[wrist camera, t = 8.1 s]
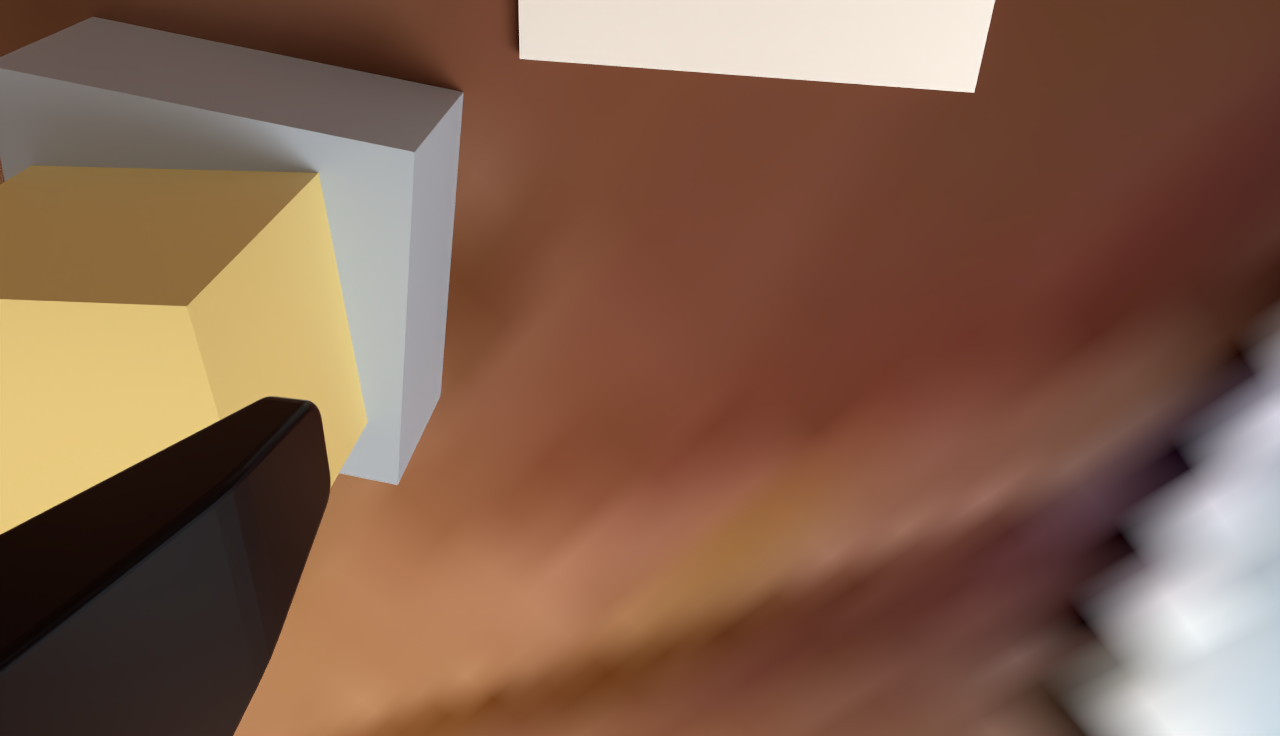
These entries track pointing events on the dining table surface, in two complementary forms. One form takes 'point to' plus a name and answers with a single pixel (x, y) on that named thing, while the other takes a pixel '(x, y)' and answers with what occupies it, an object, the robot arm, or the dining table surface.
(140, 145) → the base block
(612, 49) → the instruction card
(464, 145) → the dining table surface
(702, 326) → the dining table surface
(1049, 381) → the dining table surface
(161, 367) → the mustard block
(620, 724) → the dining table surface
